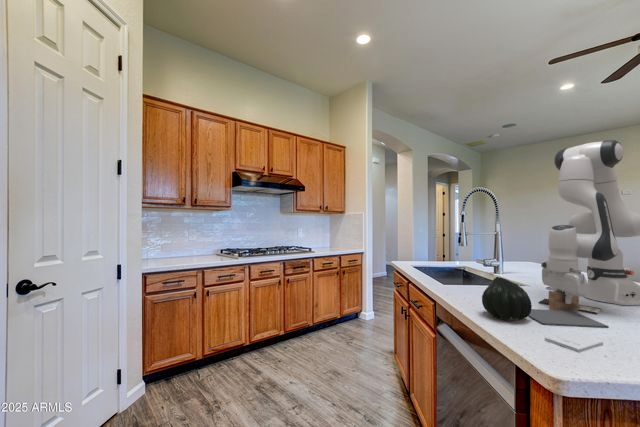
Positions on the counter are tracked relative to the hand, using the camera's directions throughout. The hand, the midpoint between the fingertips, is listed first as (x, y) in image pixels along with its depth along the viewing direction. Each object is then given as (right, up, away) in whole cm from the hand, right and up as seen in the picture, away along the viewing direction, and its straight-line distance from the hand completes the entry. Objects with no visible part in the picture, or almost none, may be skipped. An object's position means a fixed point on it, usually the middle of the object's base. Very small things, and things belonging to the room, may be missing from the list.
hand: (563, 301), depth 113 cm
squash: (-28, -3, -8) cm, 30 cm away
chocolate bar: (+6, -4, +5) cm, 9 cm away
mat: (-9, -3, -9) cm, 13 cm away
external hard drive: (-22, -4, -29) cm, 37 cm away
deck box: (0, -3, 0) cm, 3 cm away
